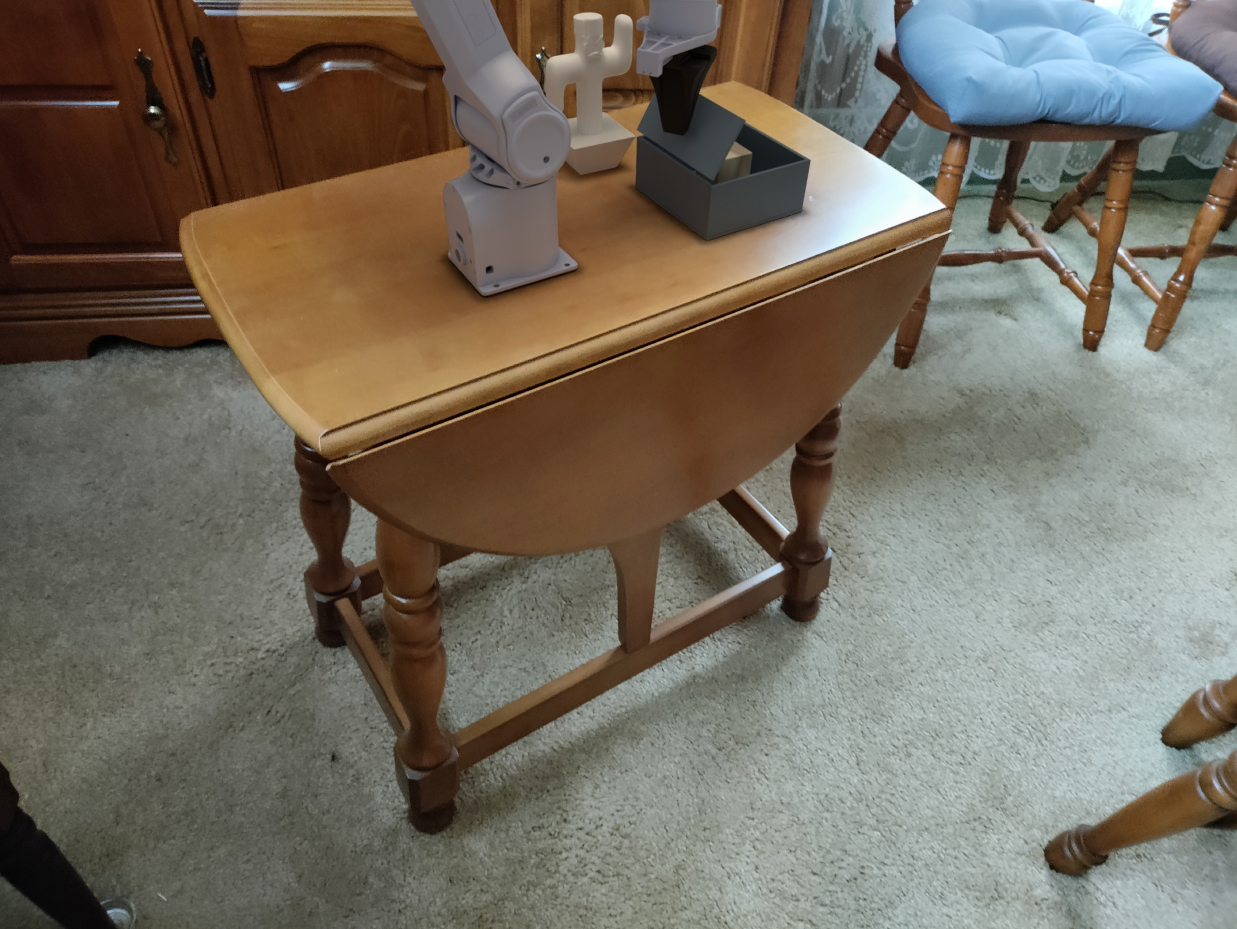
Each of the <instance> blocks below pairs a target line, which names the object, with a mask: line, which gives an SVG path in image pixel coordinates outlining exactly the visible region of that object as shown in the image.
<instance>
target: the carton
mask: <svg viewBox="0 0 1237 929" xmlns="http://www.w3.org/2000/svg"><path fill="white" fill-rule="evenodd" d="M735 142H737V143H738V144H740V145H741V146H743V147H744V148H746V149H747V150H749V151H751V152H752V161H751V169H750V175H747V176H744V177H740V178H736V179H733V180H729V181H725V182H722V183H718V184H715V185H712V184H710V183H709V182H707V181H706V180H704V179H703V178H701V177H700V176H698V175H697V174H696V169H694V168H693V167H691V166H690V165H688V164H687V163H685V162H684V161H682V160H681V159H679V158H678V157H676V156H675V155H673V154H672V153H670V152H669V151H667V150H666V149H664V148H663V147H661V146H660V145H658V144H657V143H655V142H654V141H652V140H651V139H649V138H648V137H646V136H645V135H643V134H641V135H638V136H636V151H635V152H636V154H635V155H636V156H635V182H634V183H635V184H634V186H635V189H636V190H638V191H639V192H640V193H642V194H643V195H644V196H646V197H647V198H649V199H650V200H652V201H653V202H654V203H656V205H658V206H659V207H661V208H662V209H663V210H664V211H666V212H667V213H668V214H670V215H671V216H673V217H674V218H675V219H676V220H678V221H679V222H680V223H681V224H684V225H685V226H686V227H688V228H689V229H690V230H691V231H692V232H694V233H695V234H697V235H698V236H699V237H701V238H702V239H703V240H705V241H706V242H707V241H710V240H711V241H712V240H713V239H717V238H720V237H721V238H722V237H724V236H726V235H727V236H728V235H731V234H734V233H736V232H741V231H743V230H747V229H750V228H753V227H756V226H760V225H763V224H766V223H770V222H773V221H777V220H779V219H783V218H786V217H790V216H792V215H796V214H799V213H802V212H803V207H804V201H805V195H806V191H807V190H806V189H807V184H808V179H809V172H810V167H811V163H812V162H811V161H812V160H811V158H808V157H806V156H805V155H803V154H802V153H799V152H798V151H796V150H794V149H793V148H791V147H789V146H787V145H785V143H783V142H781V141H779V140H777V139H776V138H774V137H772V136H771V135H769V134H767V133H765V132H763V131H761V130H760V129H758V128H756V127H755V126H753V125H751V124H749V123H748V122H747V121H746V122H745V123H744V125H743V127H742V129H741V131H740V133H739V135H738V136H737V138H736V140H735Z"/></svg>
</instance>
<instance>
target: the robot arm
mask: <svg viewBox="0 0 1237 929" xmlns="http://www.w3.org/2000/svg"><path fill="white" fill-rule="evenodd" d="M409 2H410V4H411V5H412V7H413V10H414V12H415V13H416V15H417V17H418V19H419V21H420V23H421V24H422V26H423V28H424V30H425V33H426V34H427V36H428V37H429V39H430V41H431V43H432V46H433V47H434V49H435V51H436V52H437V55H438V56H439V58H440V60H441V62H442V64H443V66H444V68H445V72H444V74H443V75H442V78H441V82H442V84H443V85H444V88H445V89H446V92H447V95H448V96H449V101H450V111H451V114H450V115H451V121H452V124H453V127H454V130H455V131H456V133H457V134H458V136H459V137H460V138H461V139H462V140H464V142H466V143H467V144H468V145H467V146H468V152H469V160H468V161H469V168H468V169H467V171H465V172H464V173H463V174H461V175H460V176H458V177H456V178H454V179H451V180H449V181H447V182H445V183H444V185H443V189H442V190H443V191H442V202H443V210H444V216H445V217H444V218H445V224H446V231H447V238H448V247H449V250H448V252H447V257H448V259H449V260H450V261H451V262H452V264H453V265H454V266H455V267H456V268H457V269H458V271H460V272H461V274H462V275H463V276H464V278H466V279H467V280H468V282H470V283H471V285H472V286H473V287H474V288H475V289H476V290H477V292H478V293H479V294H480V295H482V296H485V297H487V296H492V295H494V294H497V293H501V292H504V291H508V290H512V289H515V288H518V287H521V286H525V285H528V284H531V283H535V282H538V281H541V280H544V279H547V278H548V279H549V278H551V277H555V276H559V275H561V274H565V273H569V272H571V271H574V270H577V268H578V262H577V261H576V260H575V259H574V258H573V257H572V256H570V255H569V254H568V253H567V252H566V250H564V249H563V248H562V247H561V246H560V244H559V242H560V241H559V218H558V217H559V216H558V214H559V213H558V192H557V190H558V188H557V178H559V170H560V169H561V168H562V167H563V166H564V164H565V162H566V161H565V160H566V158H567V156H568V153H569V150H570V146H571V128H570V124H569V122H568V120H567V119H568V118H567V116H566V115H565V113H564V111H563V112H562V111H561V110H560V109H558V108H557V107H556V106H554V105H553V104H551V103H550V102H549V101H548V100H547V98H546V94H545V92H543V90H542V87H541V85H540V83H539V81H538V80H537V79H536V78H535V76H534V75H533V74H532V72H531V71H530V70H529V69H528V67H527V66H526V65H525V64H524V63H523V61H522V60H521V59H520V58H519V56H518V55H517V54H516V53H515V51H514V50H513V48H512V46H511V44H510V41H509V40H508V38H507V35H506V32H505V31H504V29H503V25H502V24H501V22H500V19H499V18H498V15H497V12H496V10H495V8H494V6H493V4H492V1H491V0H409ZM722 9H723V5H722V4H721V3H718V0H649V11H648V12H649V13H648V15H643V16H642V17H639V19H637V20H636V22H635V23H636V24H635V25H636V26H635V27H636V28H635V29H636V30H637V31H640V32H644V34H643V39H642V43H641V44H640V46H639V47H637V49H636V62H635V64H636V65H635V73H636V74H638V75H644V76H648V78H649V80H650V82H651V84H652V87H653V90H654V91H653V92H654V93H655V94H656V98H657V103H658V108H659V113H660V119H661V124H662V128H663V132H666V133H671V134H676V135H681V136H682V135H684V134H685V133H686V132H687V131H688V129H689V126H690V123H691V120H692V117H693V113H694V110H695V106H696V102H697V99H698V96H699V94H700V92H701V90H702V87H703V84H704V82H705V79H706V77H707V75H708V73H709V70H710V69H711V67H712V66H713V64H714V62H715V60H716V58H717V56H718V48H717V46H714V45H710V43H712V42H714V41H715V40H716V38H717V35H718V29H719V28H720V27H721V19H722Z"/></svg>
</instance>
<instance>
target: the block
mask: <svg viewBox="0 0 1237 929" xmlns="http://www.w3.org/2000/svg"><path fill="white" fill-rule="evenodd" d="M751 161H752V152H751V151H749V150H747V149H746V148H744V147H743V146H741V145H740V144H738V143H737V142H734V144H733V146H732V147H731V149H730V151H729V153H728V155H727V157H726V159H725V160H724V162H723V164H722V166H721V168H720V170H719V172H718V173H717V175H716V177H715V179H714V181H712V180H710V179H709V178H708V177H706V176H705V175H703V174H702V173H700V172H699V171H697V170H696V174H697V175H698V176H700V177H701V178H703V179H704V180H706V181H707V182H709V183H710V184H712V185H715V184H718V183H722V182H725V181H729V180H733V179H736V178H740V177H744V176H747V175H750V169H751Z"/></svg>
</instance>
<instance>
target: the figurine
mask: <svg viewBox="0 0 1237 929" xmlns="http://www.w3.org/2000/svg"><path fill="white" fill-rule="evenodd" d="M572 17H573V18H572V19H573V20H572V21H573V34H574V37H575V38H574V39H575V44H574V45H575V46H574V47H575V48H574V52H573V53H572V52H570V53H565V54H564V53H563V54H559V55H554V56H551V57H549V59H547V61H546V64H545V69H544V82H545V83H544V84H545V87H544V88H545V97H546V98H547V100H548V101H549V102H550V103H551V104H553V105H554V106H556V107H557V108H558V109H560V110H561V111H562V112H563V113H564V111H565V110H564V108H565V90H566V88H567V86H568V85H573V84H575V93H576V94H575V95H576V98H575V100H576V116H575V117H571V118H567V120H568V122H569V124H570V128H571V146H570V150H569V153H568V156H567V158H566V160H565V162H566V163H567V165H568V166H570V167H571V168H572V169H573V170H574V171H575V172H577V173H578V174H579V175H580V176H583V175H587V174H592V173H598V172H601V171H606V170H610V169H614V168H617V167H618V165H619V164H620V163H621V161H622V160H623V158H624V156H625V155H626V154H627V151H628V150H629V148H630V147H631V145H632V143H633V142H634V140H635V138H637V136H636V135H635V134H634V133H632V132H631V131H630V130H628V129H627V128H625V127H624V126H623V125H621V124H620V123H619V122H618V121H617V120H615V119H614V118H612V117H611V116H610V115H608V114H607V113H606V112H605V111H603V81H604V79H606V78H612V77H617V76H622V75H625V74H626V73H628V72H629V71H630V69H631V66H632V61H633V40H634V38H633V37H634V36H633V35H634V32H633V31H634V24H633V23H634V22H633V20H632V18H631V16H629V15H627V14H624V13H623V14H622V13H621V14H618V15H616V16H615V19H614V24H613V25H614V28H613V29H614V30H613V39H612V40H613V41H612V44H611V45H610V46H606V43H605V41H604V40H603V39H604V18H603V15H602V14H600V13H598V12H580V13H577V14H574V15H573V16H572ZM605 46H606V47H605Z"/></svg>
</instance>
